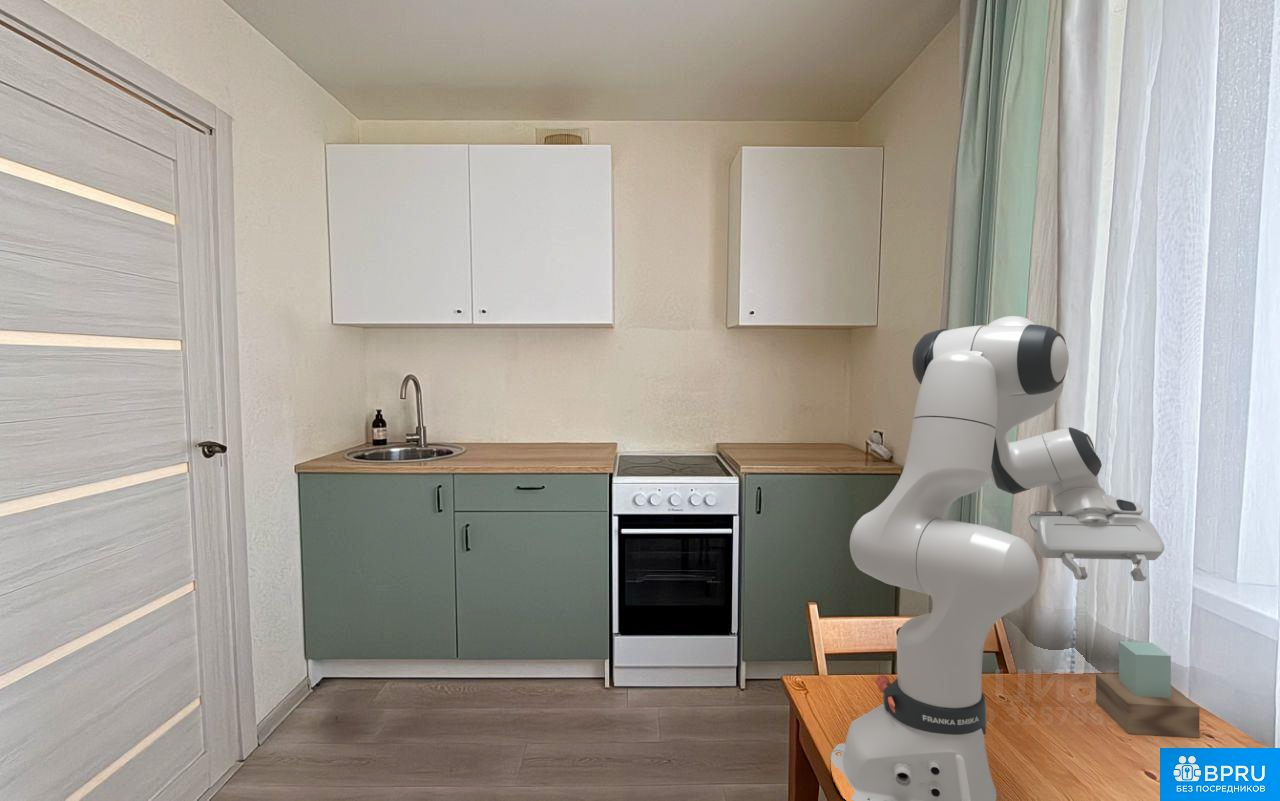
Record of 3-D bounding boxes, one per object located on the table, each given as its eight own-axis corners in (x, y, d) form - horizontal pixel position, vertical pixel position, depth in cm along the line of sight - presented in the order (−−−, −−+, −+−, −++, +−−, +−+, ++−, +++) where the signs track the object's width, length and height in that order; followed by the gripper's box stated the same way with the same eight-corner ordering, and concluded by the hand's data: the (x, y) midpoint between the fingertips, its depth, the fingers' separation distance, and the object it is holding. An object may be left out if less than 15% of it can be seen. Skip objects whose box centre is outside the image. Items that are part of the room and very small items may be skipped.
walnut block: (1128, 733, 102) (1128, 703, 102) (1096, 701, 112) (1095, 673, 112) (1199, 737, 101) (1199, 707, 100) (1160, 704, 110) (1160, 676, 110)
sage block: (1136, 696, 104) (1135, 654, 104) (1119, 681, 109) (1118, 641, 109) (1170, 698, 103) (1170, 655, 103) (1152, 682, 108) (1151, 642, 108)
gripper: (1030, 503, 123) (1053, 569, 114) (1150, 503, 119) (1183, 572, 110) (1021, 519, 128) (1042, 584, 119) (1136, 521, 124) (1166, 588, 115)
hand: (1111, 579), depth 115 cm, fingers open, 8 cm apart
